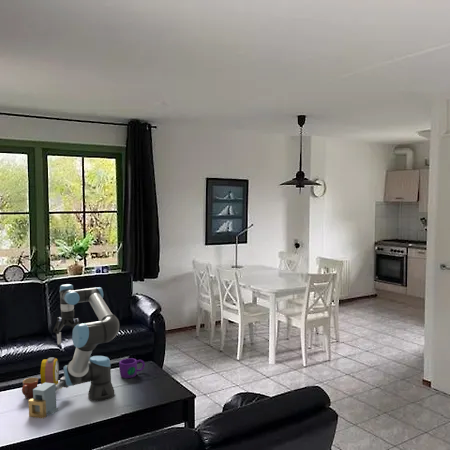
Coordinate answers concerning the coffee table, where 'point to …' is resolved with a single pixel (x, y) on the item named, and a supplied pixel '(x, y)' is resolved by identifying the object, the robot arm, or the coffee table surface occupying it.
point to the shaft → (61, 384)
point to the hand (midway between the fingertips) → (69, 344)
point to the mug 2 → (129, 367)
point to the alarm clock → (49, 371)
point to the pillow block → (46, 397)
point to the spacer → (32, 408)
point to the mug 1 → (29, 387)
